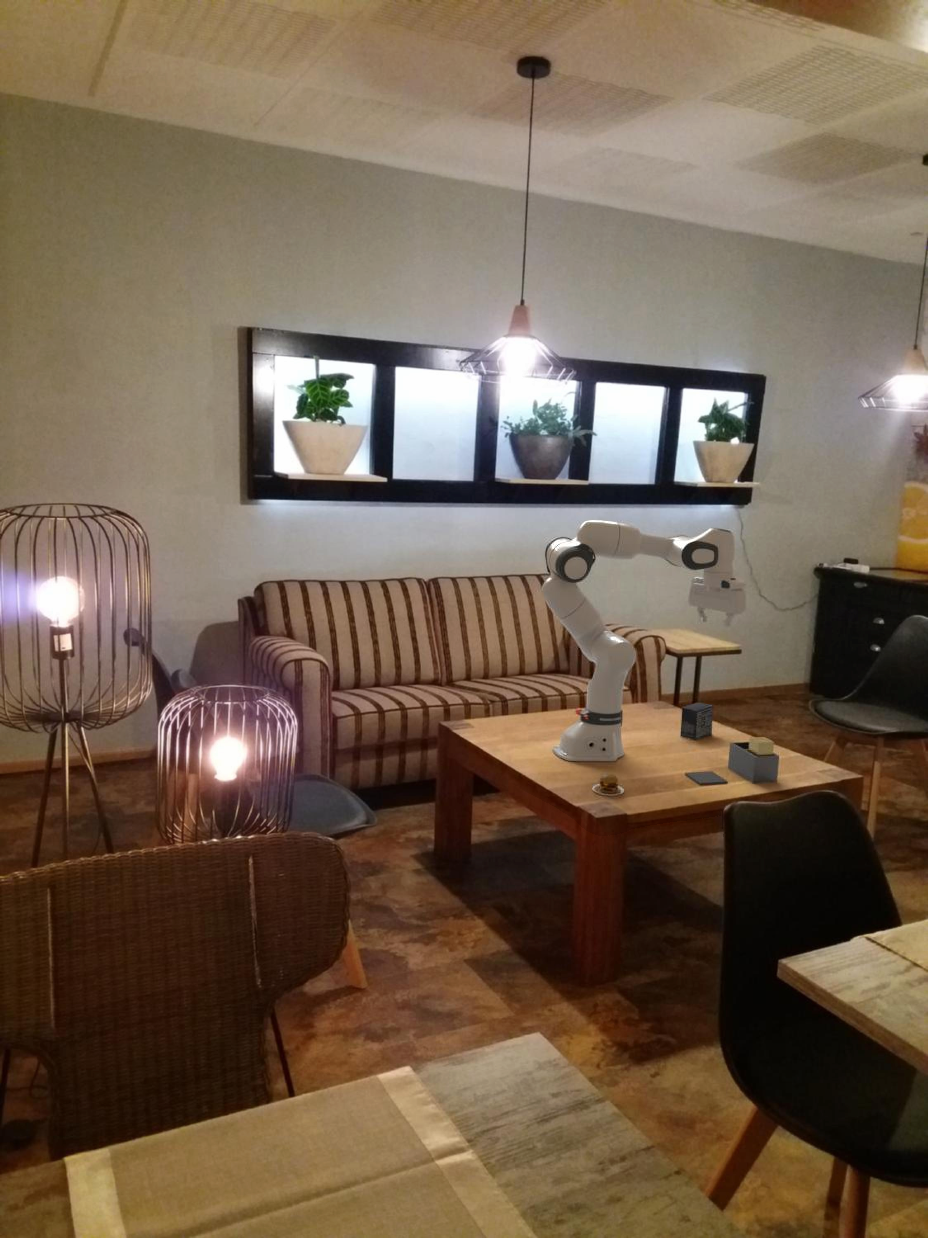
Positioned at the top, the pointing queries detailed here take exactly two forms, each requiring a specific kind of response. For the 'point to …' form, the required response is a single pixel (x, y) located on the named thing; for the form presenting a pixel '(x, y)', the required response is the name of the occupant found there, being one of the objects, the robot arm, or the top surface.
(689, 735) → the small box
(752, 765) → the divided storage bin
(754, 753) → the cream tapered block
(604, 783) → the hamburger
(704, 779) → the mat
